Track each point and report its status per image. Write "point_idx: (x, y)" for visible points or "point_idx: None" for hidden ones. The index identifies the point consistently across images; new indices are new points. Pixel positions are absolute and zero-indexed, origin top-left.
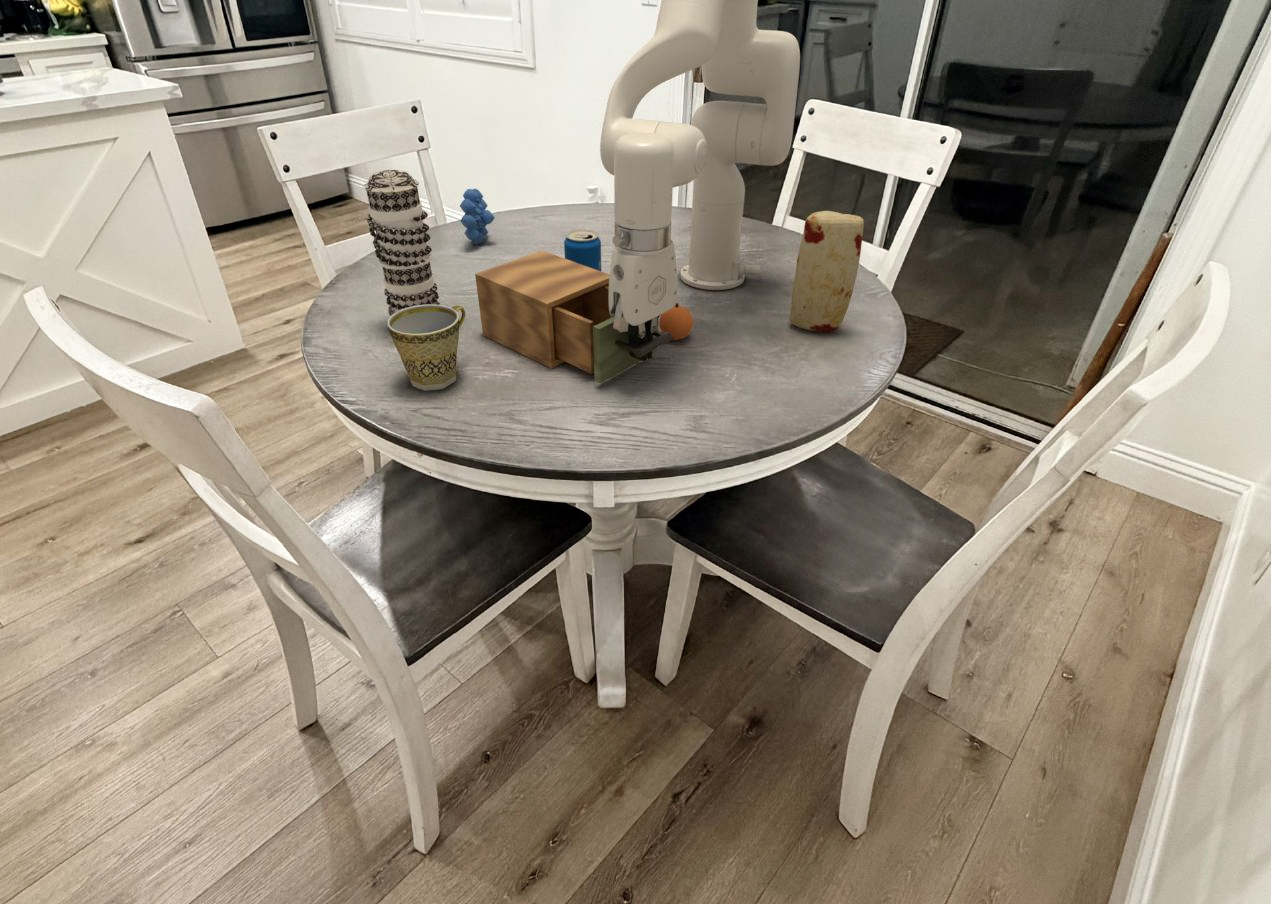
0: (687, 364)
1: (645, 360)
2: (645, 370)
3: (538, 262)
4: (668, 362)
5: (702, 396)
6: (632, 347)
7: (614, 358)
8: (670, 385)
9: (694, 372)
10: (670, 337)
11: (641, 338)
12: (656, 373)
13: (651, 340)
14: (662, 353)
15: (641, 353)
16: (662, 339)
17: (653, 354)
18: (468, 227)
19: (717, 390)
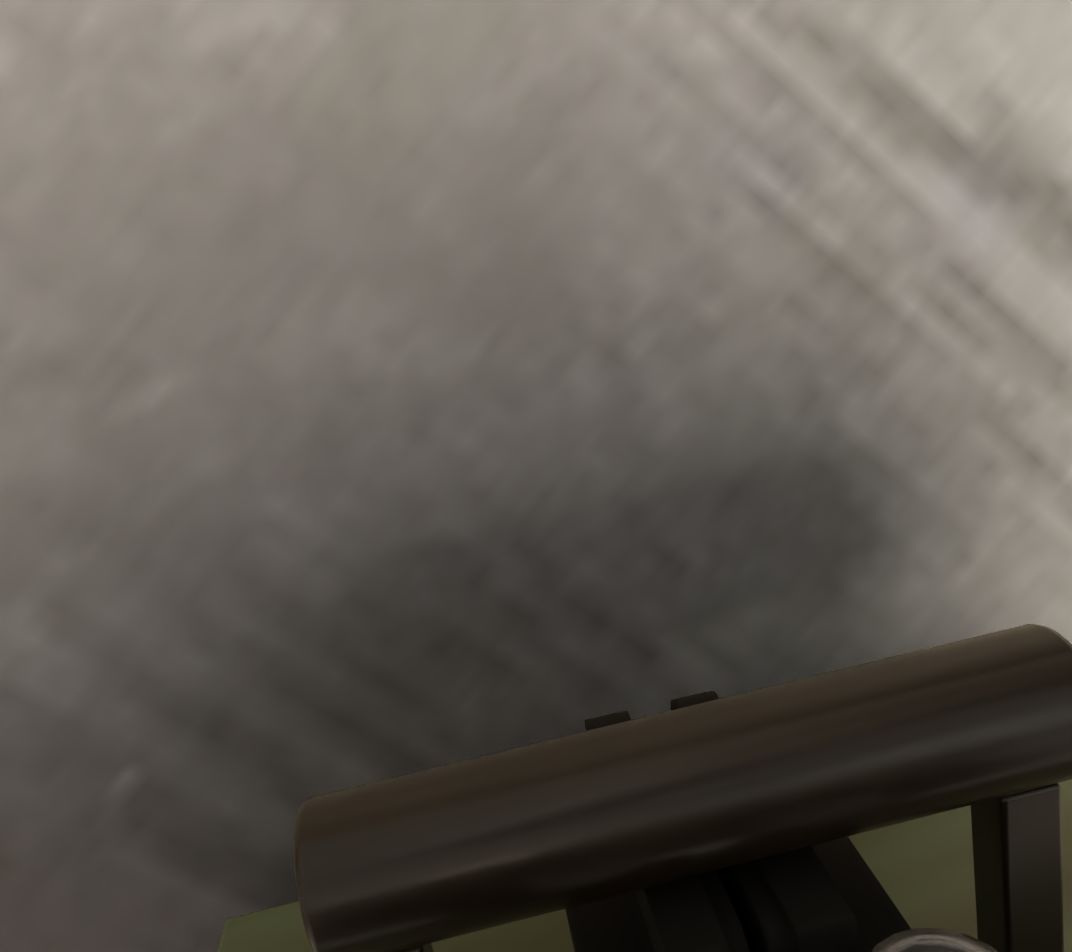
0: (31, 641)
1: (713, 692)
2: (471, 754)
3: None
4: (186, 765)
5: (307, 16)
6: (1043, 840)
7: (933, 895)
8: (451, 409)
9: (64, 474)
10: (335, 825)
11: (940, 928)
12: (420, 661)
13: (744, 850)
14: (132, 922)
15: (1055, 643)
16: (539, 810)
17: (288, 905)
18: None
19: (66, 3)
